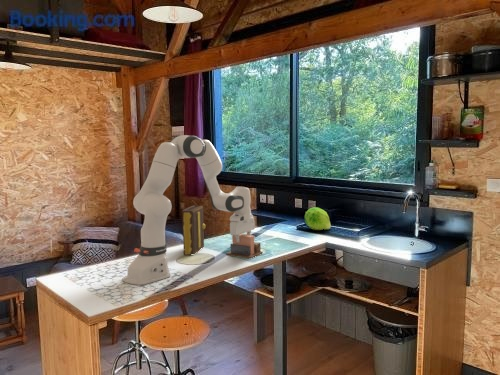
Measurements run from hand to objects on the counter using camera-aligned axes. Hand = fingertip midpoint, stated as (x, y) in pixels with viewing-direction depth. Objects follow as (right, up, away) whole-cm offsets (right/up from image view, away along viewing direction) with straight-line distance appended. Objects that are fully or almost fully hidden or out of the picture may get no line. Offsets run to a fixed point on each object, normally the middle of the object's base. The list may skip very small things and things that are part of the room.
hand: (243, 240), depth 227 cm
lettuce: (+52, -1, +64) cm, 82 cm away
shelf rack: (+1, -8, +2) cm, 8 cm away
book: (-29, -7, +12) cm, 32 cm away
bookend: (-2, -7, -2) cm, 8 cm away
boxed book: (0, -7, +1) cm, 7 cm away
